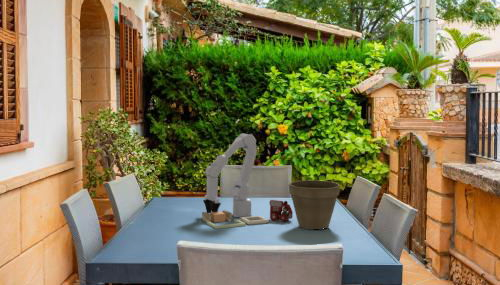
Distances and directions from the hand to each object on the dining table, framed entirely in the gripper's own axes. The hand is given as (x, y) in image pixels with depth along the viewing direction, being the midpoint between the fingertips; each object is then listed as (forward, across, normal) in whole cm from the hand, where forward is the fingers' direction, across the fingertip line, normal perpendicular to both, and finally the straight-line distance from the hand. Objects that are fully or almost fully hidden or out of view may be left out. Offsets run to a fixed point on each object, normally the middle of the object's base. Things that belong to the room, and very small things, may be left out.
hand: (211, 214), depth 292 cm
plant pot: (+2, +38, +38) cm, 54 cm away
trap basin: (+2, +18, +16) cm, 24 cm away
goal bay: (+2, +18, 0) cm, 18 cm away
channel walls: (+2, +7, 0) cm, 7 cm away
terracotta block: (+2, +8, 0) cm, 8 cm away
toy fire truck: (+2, +18, +31) cm, 36 cm away
